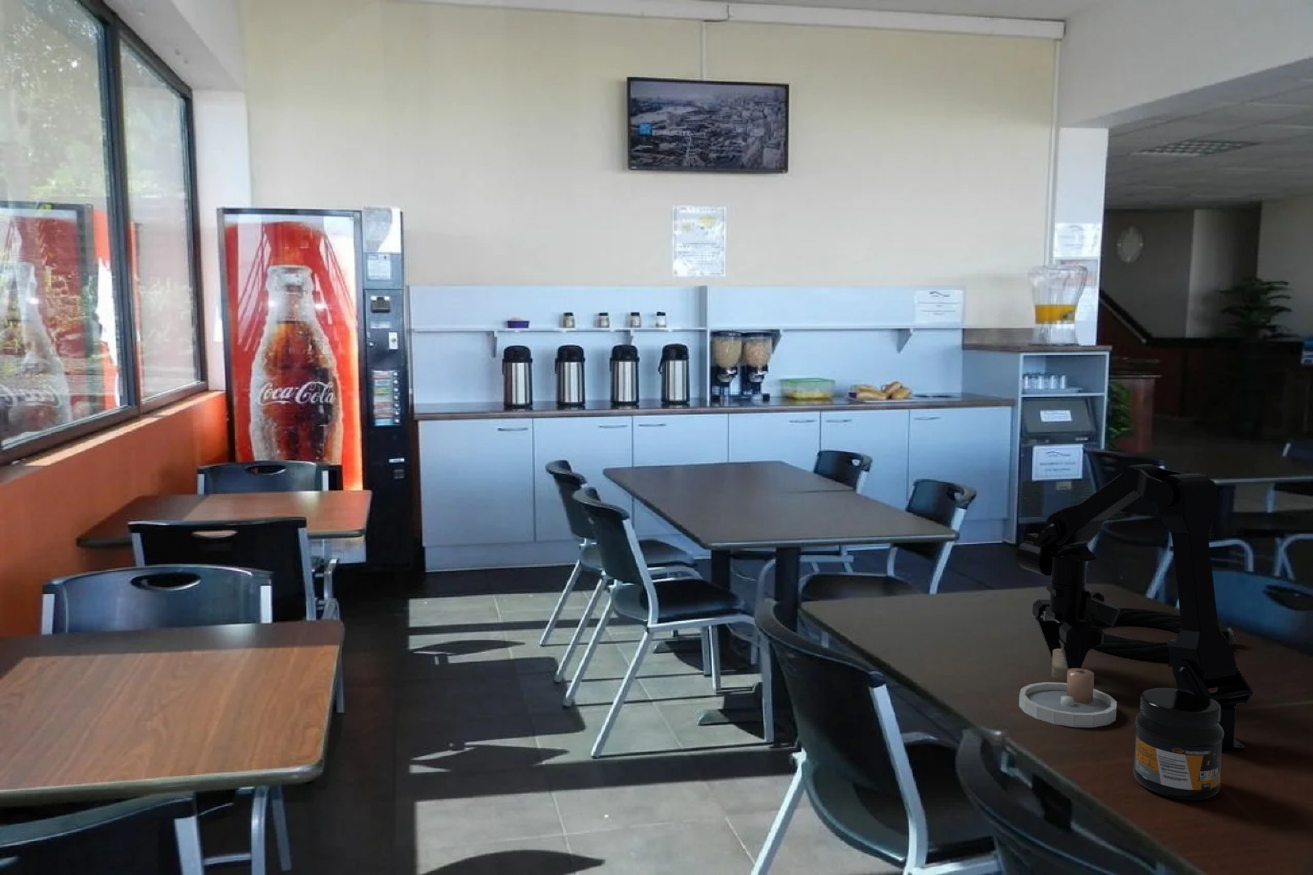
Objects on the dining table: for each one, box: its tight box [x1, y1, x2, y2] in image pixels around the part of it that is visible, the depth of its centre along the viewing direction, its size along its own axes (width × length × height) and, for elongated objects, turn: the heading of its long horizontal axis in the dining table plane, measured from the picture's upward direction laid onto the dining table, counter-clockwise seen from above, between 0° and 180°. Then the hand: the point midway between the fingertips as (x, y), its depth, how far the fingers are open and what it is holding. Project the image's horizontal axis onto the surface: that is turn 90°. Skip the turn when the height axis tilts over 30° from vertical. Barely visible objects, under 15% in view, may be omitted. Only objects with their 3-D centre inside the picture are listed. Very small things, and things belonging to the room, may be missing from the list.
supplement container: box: [1132, 687, 1224, 801], centre depth 136 cm, size 10×10×12 cm
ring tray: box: [1018, 681, 1118, 728], centre depth 163 cm, size 14×14×2 cm
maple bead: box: [1051, 648, 1068, 682], centre depth 179 cm, size 4×4×4 cm
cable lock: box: [1080, 607, 1235, 662], centre depth 200 cm, size 28×4×30 cm
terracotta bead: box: [1066, 667, 1095, 703], centre depth 165 cm, size 4×4×5 cm
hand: (1064, 668), depth 179 cm, fingers open, 9 cm apart
